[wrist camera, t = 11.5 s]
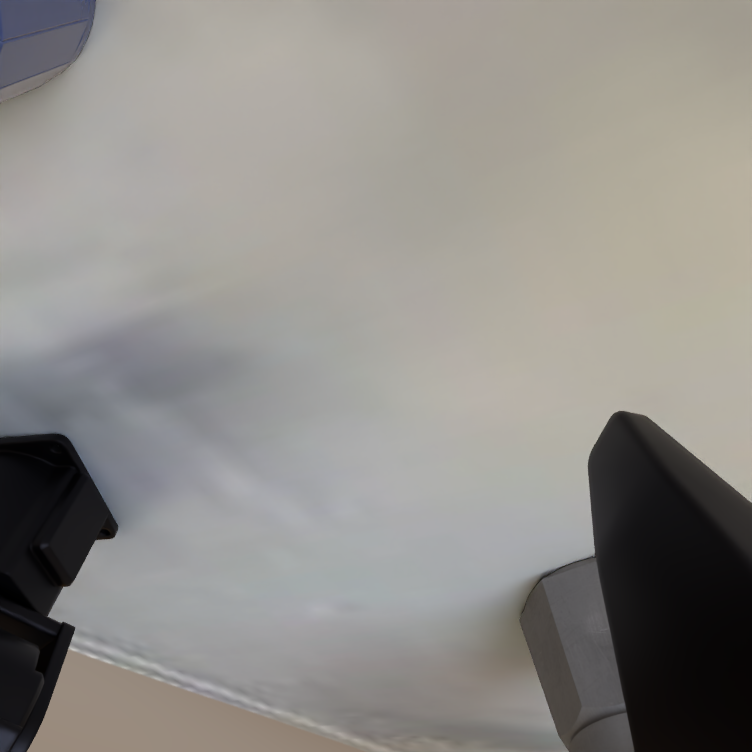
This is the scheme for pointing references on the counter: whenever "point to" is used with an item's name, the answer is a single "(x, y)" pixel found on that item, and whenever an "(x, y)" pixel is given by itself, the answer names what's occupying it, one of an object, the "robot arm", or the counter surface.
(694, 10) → the counter surface
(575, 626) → the coffeepot
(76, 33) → the holder cup
